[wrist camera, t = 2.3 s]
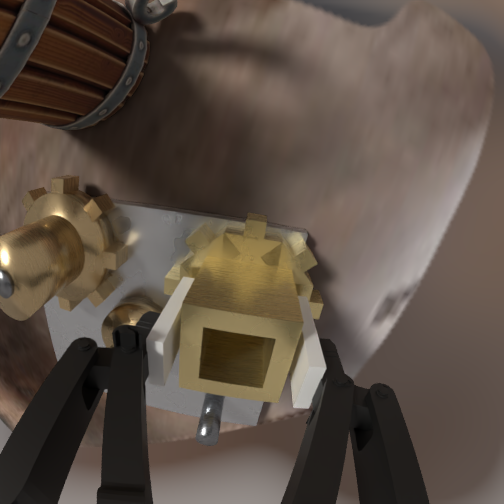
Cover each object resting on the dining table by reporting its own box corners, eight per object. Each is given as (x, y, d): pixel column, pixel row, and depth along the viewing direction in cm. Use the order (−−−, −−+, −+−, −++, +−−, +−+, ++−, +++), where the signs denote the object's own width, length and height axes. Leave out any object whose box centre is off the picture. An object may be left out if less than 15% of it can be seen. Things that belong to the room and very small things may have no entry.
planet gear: (170, 332, 22) (136, 405, 14) (178, 201, 19) (126, 234, 11) (299, 353, 22) (310, 432, 15) (334, 228, 19) (378, 276, 11)
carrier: (62, 367, 26) (21, 421, 17) (38, 171, 19) (-46, 191, 10) (256, 417, 27) (253, 495, 17) (310, 205, 20) (349, 249, 10)
